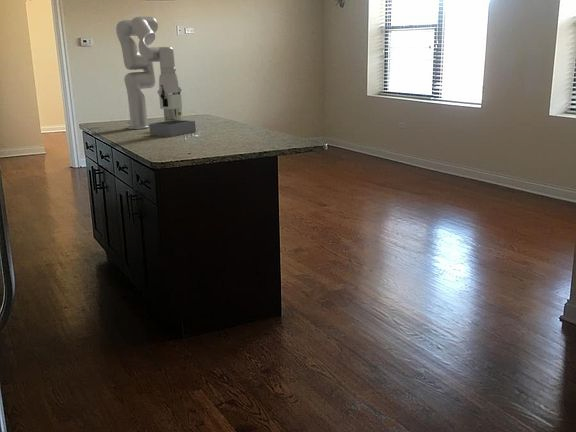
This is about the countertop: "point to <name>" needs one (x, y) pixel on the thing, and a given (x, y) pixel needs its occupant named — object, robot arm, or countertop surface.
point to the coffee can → (173, 114)
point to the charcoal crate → (172, 128)
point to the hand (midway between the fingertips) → (171, 105)
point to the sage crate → (172, 101)
